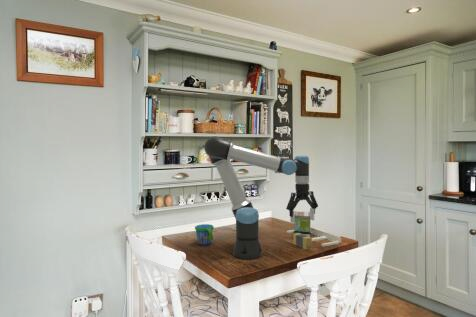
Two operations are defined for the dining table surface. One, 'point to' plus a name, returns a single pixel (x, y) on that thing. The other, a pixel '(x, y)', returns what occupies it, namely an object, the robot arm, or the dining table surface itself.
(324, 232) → the rack
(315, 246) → the dining table surface
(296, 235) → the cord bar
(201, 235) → the snack cup
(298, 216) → the tea box
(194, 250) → the dining table surface
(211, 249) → the dining table surface
